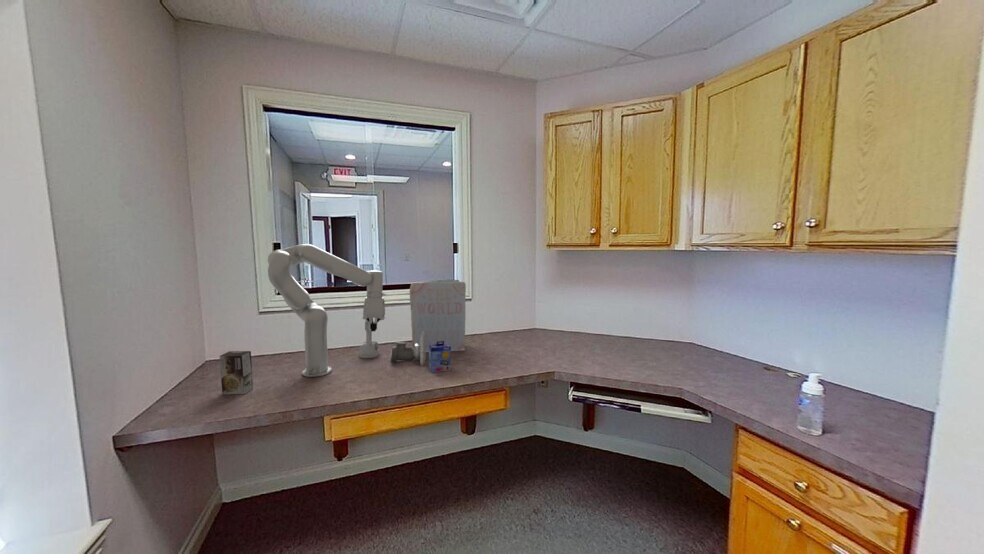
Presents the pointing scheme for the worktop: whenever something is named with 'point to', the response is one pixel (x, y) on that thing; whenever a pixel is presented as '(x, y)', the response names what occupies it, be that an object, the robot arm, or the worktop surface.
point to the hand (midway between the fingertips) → (373, 330)
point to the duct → (420, 349)
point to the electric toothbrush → (368, 344)
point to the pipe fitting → (401, 352)
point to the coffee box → (236, 372)
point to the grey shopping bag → (438, 312)
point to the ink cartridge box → (439, 357)
